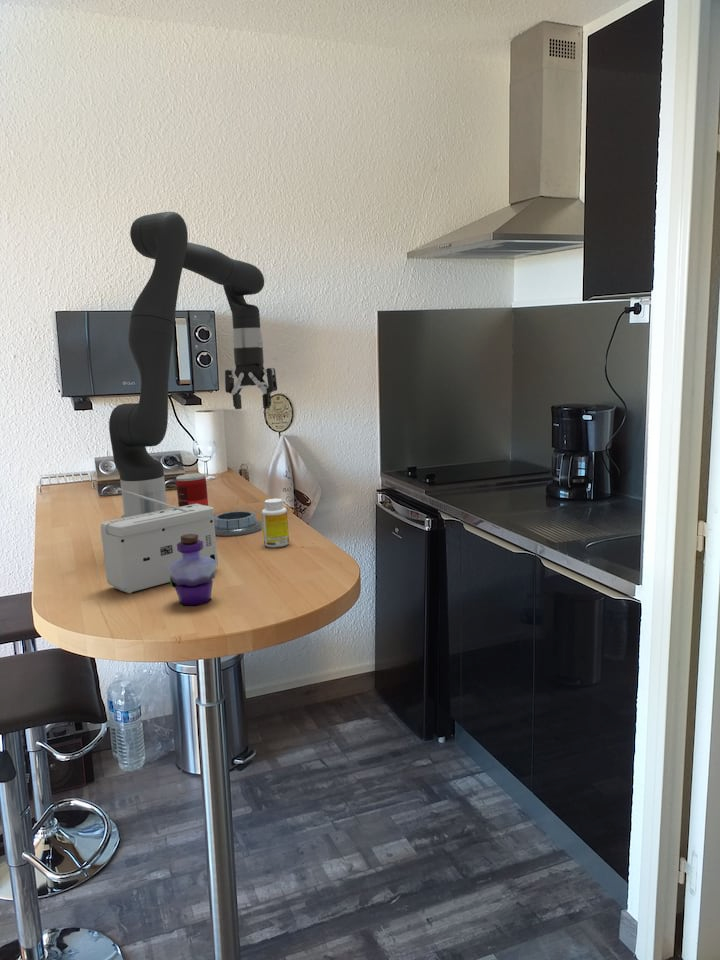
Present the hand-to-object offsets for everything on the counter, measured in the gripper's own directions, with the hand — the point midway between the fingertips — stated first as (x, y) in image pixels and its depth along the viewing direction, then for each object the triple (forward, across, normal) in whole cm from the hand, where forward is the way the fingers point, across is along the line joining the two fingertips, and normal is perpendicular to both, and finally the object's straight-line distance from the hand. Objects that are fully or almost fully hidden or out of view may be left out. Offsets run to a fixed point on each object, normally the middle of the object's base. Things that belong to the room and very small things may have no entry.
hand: (252, 408), depth 198 cm
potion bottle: (+29, +25, -66) cm, 77 cm away
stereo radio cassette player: (+29, +12, -57) cm, 65 cm away
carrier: (+28, +4, -18) cm, 34 cm away
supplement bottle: (+29, +21, -29) cm, 46 cm away
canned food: (+28, -17, -6) cm, 34 cm away
